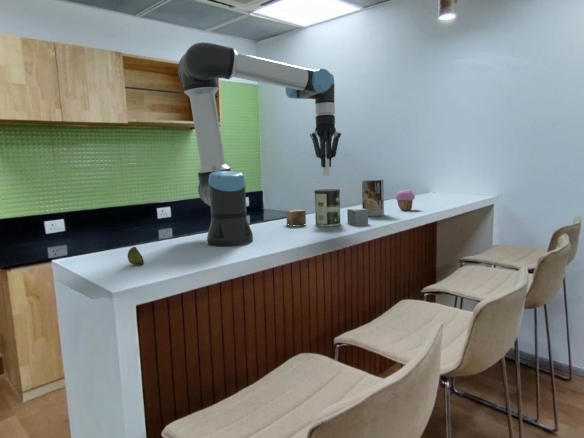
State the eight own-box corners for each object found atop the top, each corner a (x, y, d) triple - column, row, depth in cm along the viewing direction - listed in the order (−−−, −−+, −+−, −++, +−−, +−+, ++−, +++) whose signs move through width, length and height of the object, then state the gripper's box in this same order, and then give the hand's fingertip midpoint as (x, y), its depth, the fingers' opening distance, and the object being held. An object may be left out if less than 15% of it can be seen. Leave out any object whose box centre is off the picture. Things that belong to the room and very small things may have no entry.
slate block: (355, 225, 165) (354, 210, 164) (347, 223, 171) (347, 208, 170) (368, 224, 168) (368, 208, 167) (360, 222, 173) (360, 207, 172)
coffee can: (341, 222, 174) (340, 188, 172) (339, 226, 164) (338, 190, 162) (317, 222, 176) (316, 189, 174) (313, 226, 166) (312, 191, 164)
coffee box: (384, 214, 194) (384, 179, 192) (382, 216, 188) (381, 180, 186) (364, 214, 197) (364, 180, 195) (361, 216, 191) (361, 180, 189)
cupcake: (418, 209, 206) (418, 189, 205) (406, 211, 201) (406, 190, 200) (404, 208, 214) (404, 188, 212) (392, 210, 209) (392, 190, 207)
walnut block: (292, 226, 168) (291, 211, 167) (286, 224, 174) (286, 210, 173) (305, 225, 171) (305, 210, 170) (300, 223, 176) (299, 208, 175)
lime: (134, 262, 115) (133, 244, 114) (149, 263, 114) (148, 245, 113) (123, 266, 111) (122, 248, 110) (139, 267, 110) (137, 248, 109)
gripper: (335, 116, 170) (336, 174, 173) (306, 115, 165) (307, 176, 168) (344, 114, 163) (345, 175, 166) (314, 113, 158) (315, 176, 161)
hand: (326, 175), depth 167 cm, fingers closed
